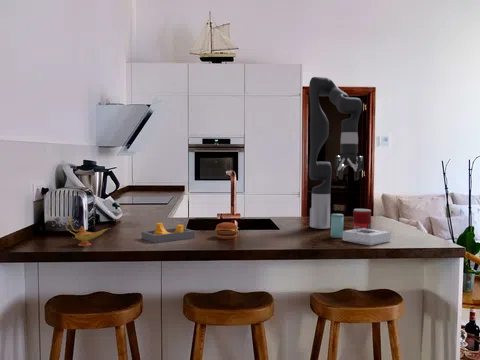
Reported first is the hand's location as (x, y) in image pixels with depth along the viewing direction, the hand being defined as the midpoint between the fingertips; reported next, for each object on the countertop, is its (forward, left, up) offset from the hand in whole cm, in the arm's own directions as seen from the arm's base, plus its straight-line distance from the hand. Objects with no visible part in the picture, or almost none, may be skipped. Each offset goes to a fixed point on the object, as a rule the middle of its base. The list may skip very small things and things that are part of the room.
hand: (348, 179), depth 200 cm
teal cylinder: (-3, -4, -26) cm, 26 cm away
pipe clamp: (-45, -65, -26) cm, 83 cm away
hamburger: (-32, -43, -26) cm, 60 cm away
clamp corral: (-45, -65, -26) cm, 84 cm away
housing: (+11, -1, -26) cm, 28 cm away
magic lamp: (-52, -98, -26) cm, 114 cm away
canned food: (-3, +15, -26) cm, 30 cm away
